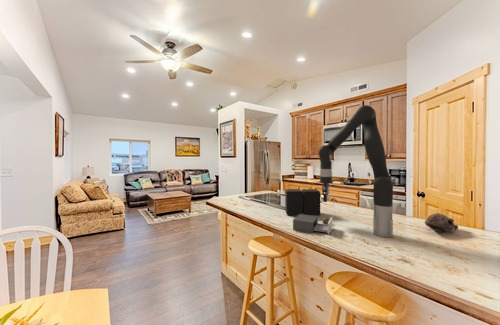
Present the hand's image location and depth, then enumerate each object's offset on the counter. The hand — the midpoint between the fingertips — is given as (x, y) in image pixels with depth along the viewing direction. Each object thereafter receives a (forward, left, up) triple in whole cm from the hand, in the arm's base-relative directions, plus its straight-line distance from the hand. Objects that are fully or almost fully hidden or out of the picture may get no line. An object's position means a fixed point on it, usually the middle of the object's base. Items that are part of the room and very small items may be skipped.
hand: (326, 200), depth 143 cm
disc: (0, 0, +1) cm, 1 cm away
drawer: (0, +14, -15) cm, 20 cm away
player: (+10, +14, -15) cm, 23 cm away
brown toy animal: (-62, -14, -16) cm, 65 cm away
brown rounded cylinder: (0, 0, -15) cm, 15 cm away
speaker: (+20, -17, -16) cm, 31 cm away
